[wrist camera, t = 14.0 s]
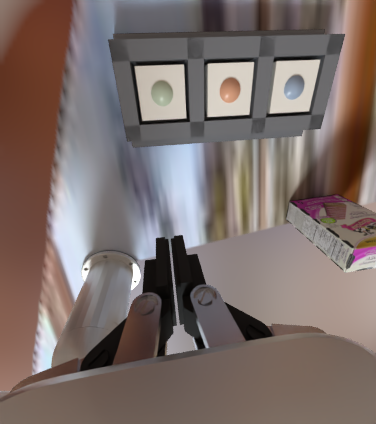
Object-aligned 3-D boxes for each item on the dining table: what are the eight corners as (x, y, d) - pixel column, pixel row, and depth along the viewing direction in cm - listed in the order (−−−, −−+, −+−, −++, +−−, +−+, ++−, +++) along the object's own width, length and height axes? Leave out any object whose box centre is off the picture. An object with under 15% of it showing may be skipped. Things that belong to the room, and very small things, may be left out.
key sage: (184, 117, 29) (186, 118, 27) (144, 119, 29) (142, 120, 26) (181, 68, 27) (184, 64, 24) (137, 70, 26) (134, 65, 23)
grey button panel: (298, 135, 35) (317, 139, 30) (133, 146, 32) (129, 152, 28) (320, 31, 28) (349, 17, 24) (114, 36, 26) (104, 21, 21)
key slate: (296, 111, 31) (309, 111, 28) (260, 113, 30) (270, 113, 28) (305, 64, 28) (321, 59, 25) (265, 65, 28) (277, 60, 25)
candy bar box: (338, 192, 42) (431, 237, 27) (331, 212, 44) (414, 263, 30) (287, 199, 41) (356, 249, 27) (284, 219, 43) (345, 275, 29)
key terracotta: (241, 114, 30) (249, 114, 27) (203, 116, 30) (207, 117, 27) (245, 66, 27) (254, 61, 25) (203, 67, 27) (208, 63, 24)
